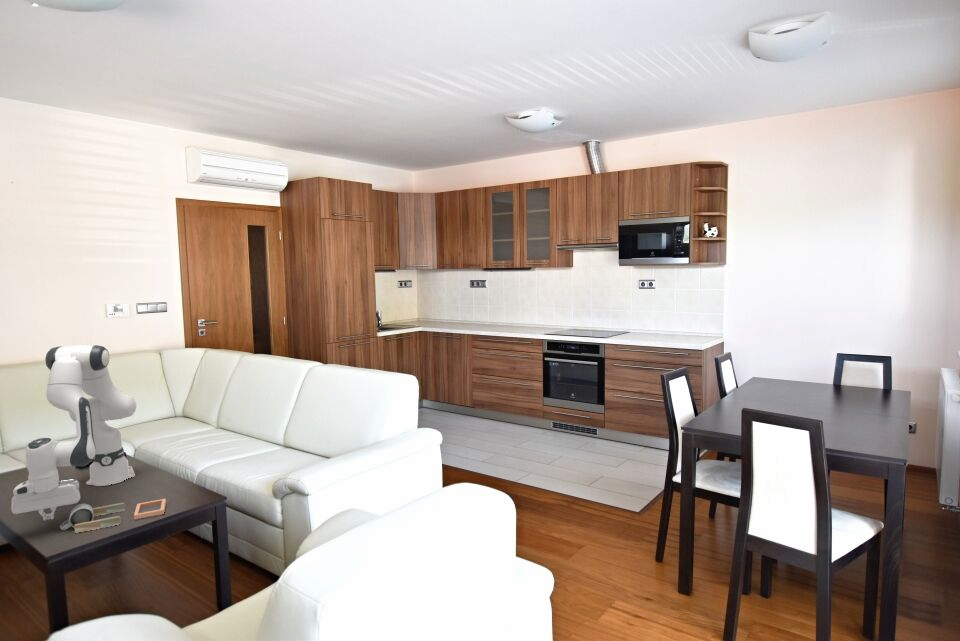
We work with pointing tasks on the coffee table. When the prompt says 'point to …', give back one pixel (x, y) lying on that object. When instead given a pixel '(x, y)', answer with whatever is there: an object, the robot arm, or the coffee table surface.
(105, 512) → the channel walls
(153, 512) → the frame
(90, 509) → the ceramic mug
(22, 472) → the coffee table surface
